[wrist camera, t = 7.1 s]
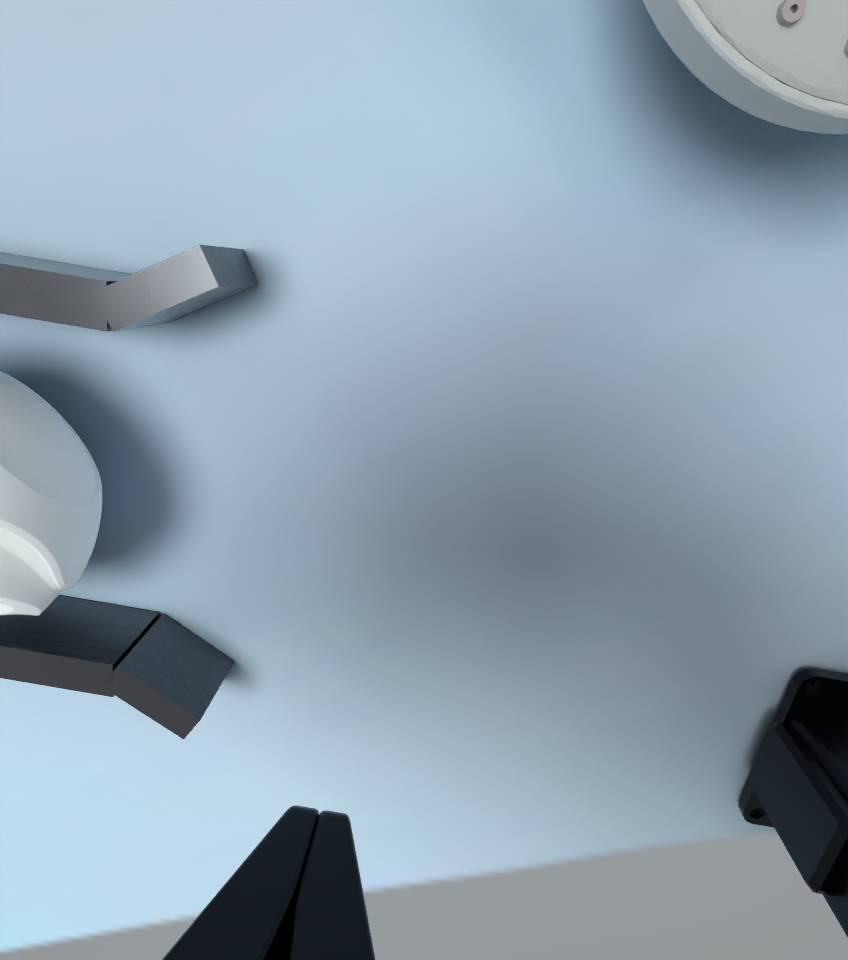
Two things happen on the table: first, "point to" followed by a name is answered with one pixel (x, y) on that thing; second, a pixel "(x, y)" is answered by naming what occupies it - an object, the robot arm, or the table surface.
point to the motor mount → (89, 624)
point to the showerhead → (766, 55)
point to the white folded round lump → (42, 501)
